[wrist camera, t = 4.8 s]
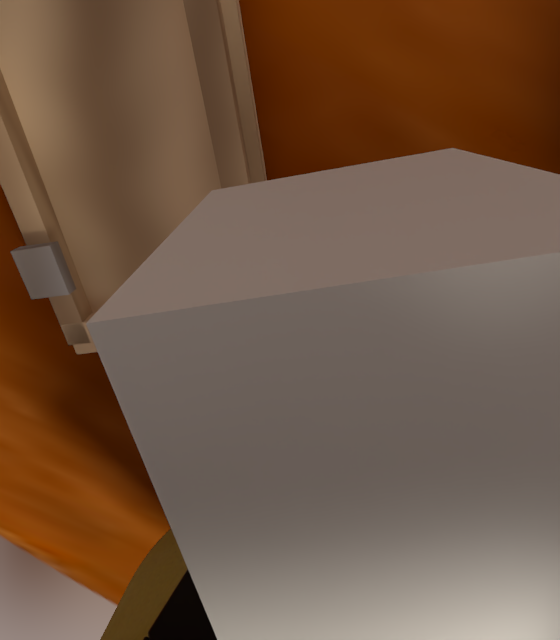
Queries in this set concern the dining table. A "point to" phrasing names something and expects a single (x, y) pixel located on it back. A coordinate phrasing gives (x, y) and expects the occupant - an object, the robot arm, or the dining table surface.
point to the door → (356, 399)
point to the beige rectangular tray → (116, 136)
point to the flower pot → (147, 591)
